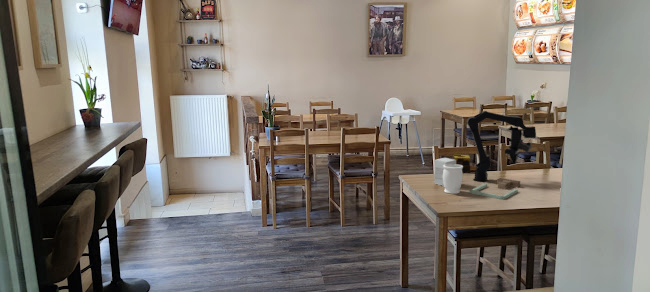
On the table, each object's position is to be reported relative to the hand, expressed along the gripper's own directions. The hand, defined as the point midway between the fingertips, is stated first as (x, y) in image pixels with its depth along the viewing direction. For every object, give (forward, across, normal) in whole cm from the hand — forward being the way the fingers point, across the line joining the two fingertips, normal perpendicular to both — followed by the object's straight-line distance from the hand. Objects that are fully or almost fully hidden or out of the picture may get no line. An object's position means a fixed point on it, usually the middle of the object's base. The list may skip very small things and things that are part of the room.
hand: (514, 163), depth 284 cm
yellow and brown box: (+11, +6, +36) cm, 38 cm away
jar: (+11, -43, +19) cm, 48 cm away
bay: (+11, -30, 0) cm, 32 cm away
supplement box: (+11, -31, +29) cm, 44 cm away
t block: (+11, -14, 0) cm, 18 cm away
